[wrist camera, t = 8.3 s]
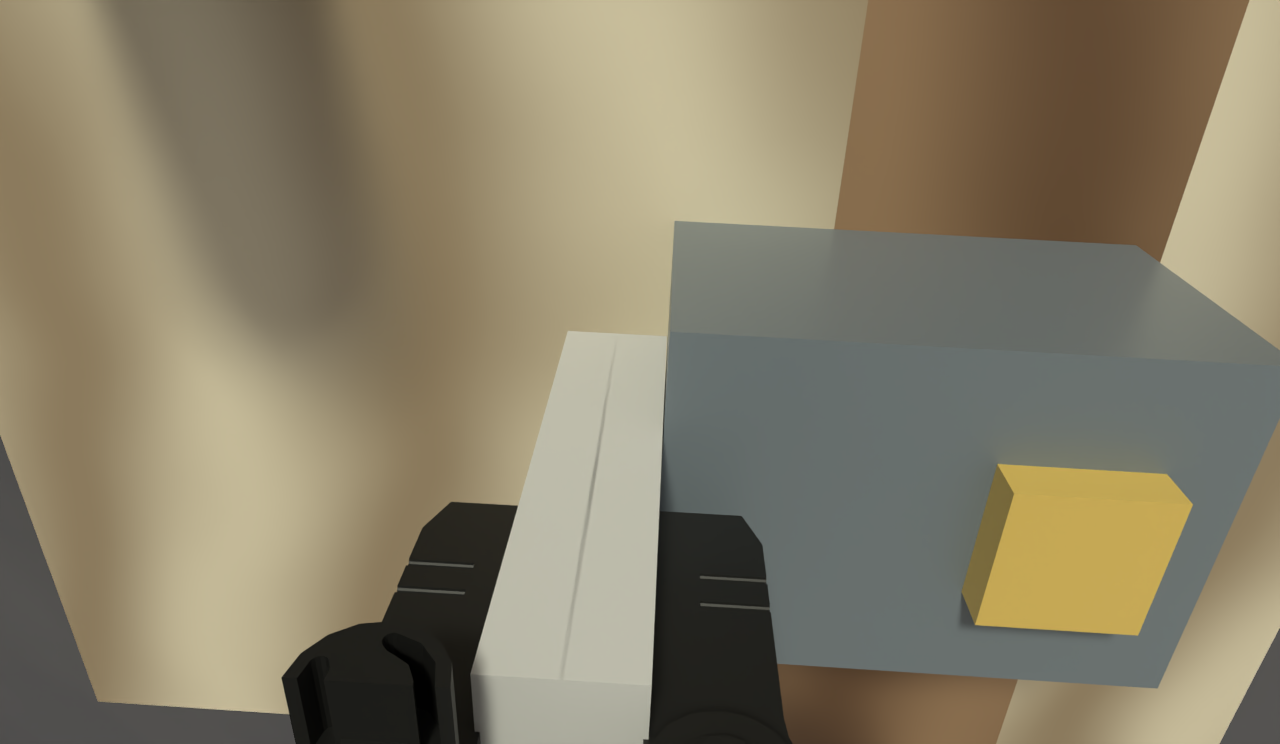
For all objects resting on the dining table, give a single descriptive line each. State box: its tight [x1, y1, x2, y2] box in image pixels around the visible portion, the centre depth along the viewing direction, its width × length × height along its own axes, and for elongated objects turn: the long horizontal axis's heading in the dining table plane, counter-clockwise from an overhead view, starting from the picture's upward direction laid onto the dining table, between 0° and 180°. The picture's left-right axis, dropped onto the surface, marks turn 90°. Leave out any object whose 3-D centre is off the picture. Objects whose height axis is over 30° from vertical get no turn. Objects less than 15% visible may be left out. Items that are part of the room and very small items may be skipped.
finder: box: [659, 221, 1280, 689], centre depth 12 cm, size 7×5×5 cm
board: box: [0, 0, 1280, 744], centre depth 15 cm, size 24×16×1 cm, turn 88°
